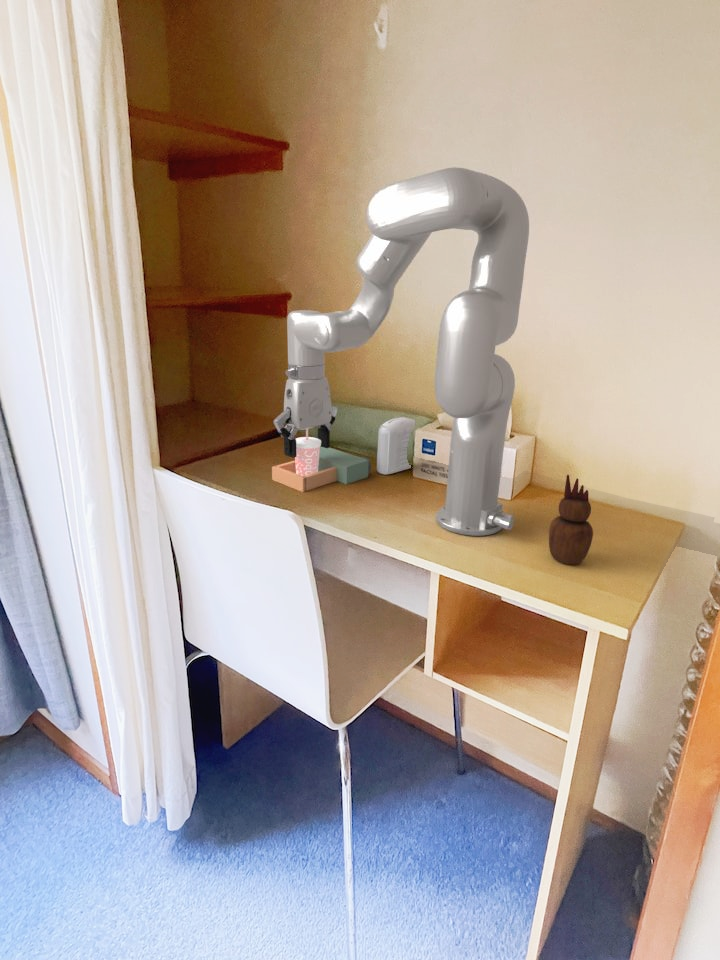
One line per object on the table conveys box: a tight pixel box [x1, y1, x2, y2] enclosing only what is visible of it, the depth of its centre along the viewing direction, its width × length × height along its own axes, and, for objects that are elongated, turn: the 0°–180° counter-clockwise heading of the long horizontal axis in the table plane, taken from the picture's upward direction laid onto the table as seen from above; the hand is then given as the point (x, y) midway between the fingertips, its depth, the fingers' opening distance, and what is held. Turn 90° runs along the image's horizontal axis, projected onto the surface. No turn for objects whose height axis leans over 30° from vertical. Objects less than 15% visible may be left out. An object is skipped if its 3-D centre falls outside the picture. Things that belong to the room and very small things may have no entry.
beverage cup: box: [294, 429, 321, 476], centre depth 134 cm, size 6×6×14 cm
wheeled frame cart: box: [271, 446, 372, 493], centre depth 138 cm, size 16×18×4 cm
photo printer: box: [376, 416, 416, 475], centre depth 142 cm, size 10×4×12 cm, turn 134°
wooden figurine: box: [548, 474, 594, 566], centre depth 101 cm, size 7×6×15 cm
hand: (307, 451), depth 134 cm, fingers open, 9 cm apart
